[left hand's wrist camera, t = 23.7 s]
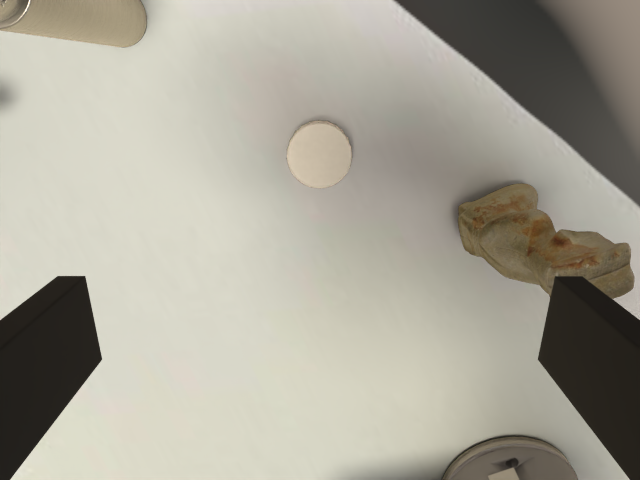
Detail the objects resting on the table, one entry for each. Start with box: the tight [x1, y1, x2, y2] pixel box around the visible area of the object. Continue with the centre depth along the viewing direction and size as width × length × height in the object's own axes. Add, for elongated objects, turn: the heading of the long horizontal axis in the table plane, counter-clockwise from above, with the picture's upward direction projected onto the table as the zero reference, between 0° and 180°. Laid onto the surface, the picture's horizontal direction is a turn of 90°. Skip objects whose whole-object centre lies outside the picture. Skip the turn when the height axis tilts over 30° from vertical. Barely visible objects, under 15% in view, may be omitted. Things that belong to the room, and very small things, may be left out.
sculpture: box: [458, 184, 634, 299], centre depth 33 cm, size 6×7×15 cm
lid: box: [287, 120, 352, 188], centre depth 37 cm, size 5×5×2 cm
